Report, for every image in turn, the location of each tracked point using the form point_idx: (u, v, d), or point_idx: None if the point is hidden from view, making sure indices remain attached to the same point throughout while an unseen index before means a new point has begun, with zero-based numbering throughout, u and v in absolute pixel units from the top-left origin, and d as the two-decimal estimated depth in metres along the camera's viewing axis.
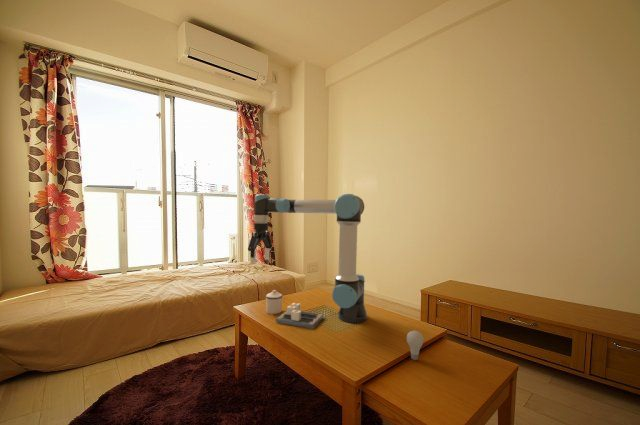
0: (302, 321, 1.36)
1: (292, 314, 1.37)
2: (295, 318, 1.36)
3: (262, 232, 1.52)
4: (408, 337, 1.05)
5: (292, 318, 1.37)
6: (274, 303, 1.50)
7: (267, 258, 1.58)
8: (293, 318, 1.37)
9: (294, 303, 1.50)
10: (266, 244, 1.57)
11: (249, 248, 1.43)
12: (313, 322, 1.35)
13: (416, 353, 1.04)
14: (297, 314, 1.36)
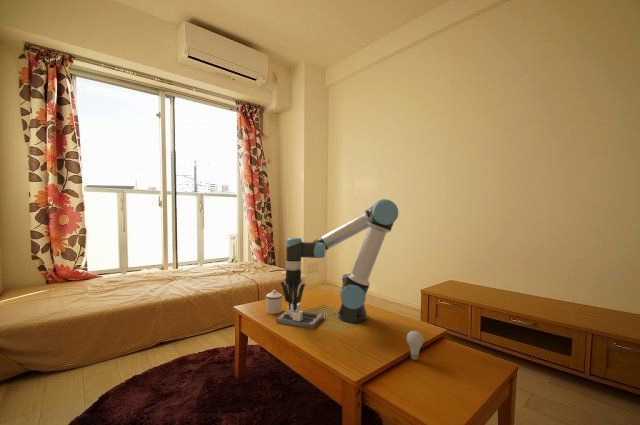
0: (302, 321, 1.36)
1: (294, 314, 1.37)
2: (296, 318, 1.36)
3: (291, 279, 1.38)
4: (408, 337, 1.05)
5: (294, 318, 1.37)
6: (274, 303, 1.50)
7: None
8: (295, 318, 1.36)
9: None
10: None
11: None
12: (313, 322, 1.35)
13: (416, 353, 1.04)
14: (299, 314, 1.36)
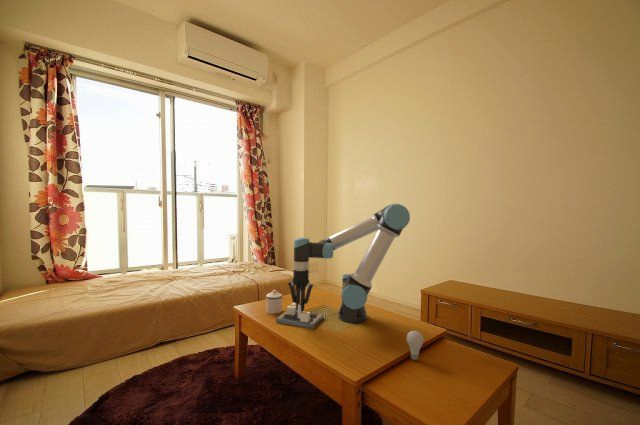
0: None
1: (301, 315, 1.35)
2: (304, 319, 1.35)
3: (299, 280, 1.36)
4: (408, 337, 1.05)
5: (301, 320, 1.35)
6: (274, 303, 1.50)
7: None
8: (302, 320, 1.35)
9: (294, 303, 1.50)
10: None
11: None
12: (313, 322, 1.35)
13: (416, 353, 1.04)
14: (306, 315, 1.34)
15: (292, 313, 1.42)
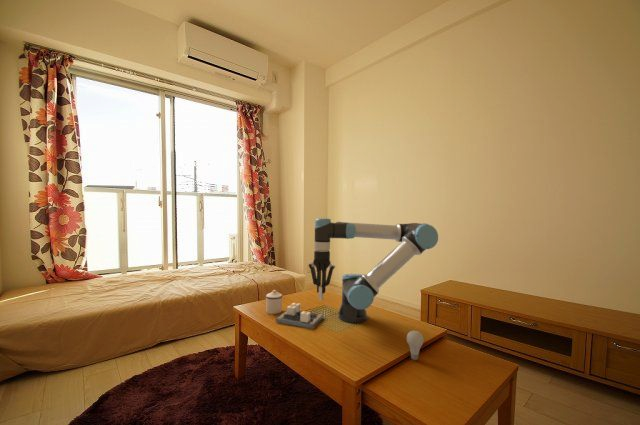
0: None
1: (301, 315, 1.35)
2: (304, 319, 1.35)
3: (320, 261, 1.33)
4: (408, 337, 1.05)
5: (301, 320, 1.35)
6: (274, 303, 1.50)
7: None
8: (302, 320, 1.35)
9: (294, 303, 1.50)
10: None
11: None
12: (313, 322, 1.35)
13: (416, 353, 1.04)
14: (306, 315, 1.34)
15: (292, 313, 1.42)
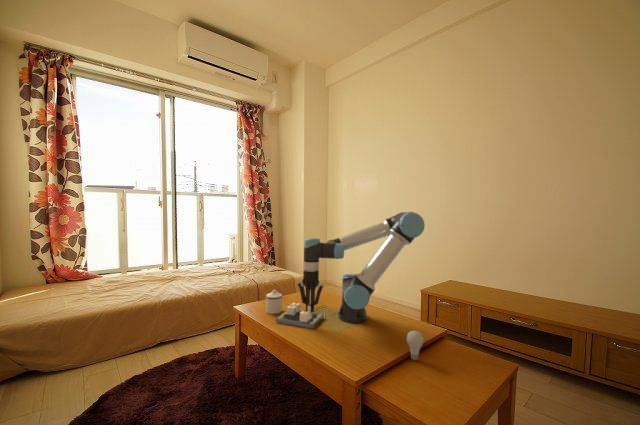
0: None
1: (300, 315, 1.35)
2: (303, 319, 1.35)
3: (309, 281, 1.34)
4: (408, 337, 1.05)
5: (300, 319, 1.35)
6: (274, 303, 1.50)
7: None
8: (301, 319, 1.35)
9: (294, 303, 1.50)
10: None
11: None
12: (313, 322, 1.35)
13: (416, 353, 1.04)
14: (306, 315, 1.34)
15: (292, 313, 1.42)
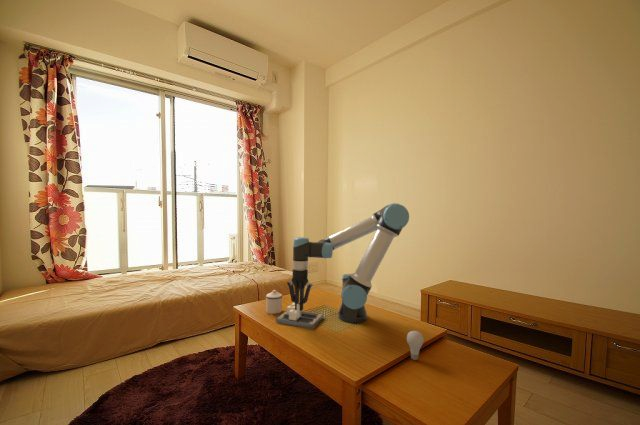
0: (302, 321, 1.36)
1: (290, 314, 1.37)
2: (293, 317, 1.37)
3: (298, 279, 1.36)
4: (408, 337, 1.05)
5: (290, 318, 1.37)
6: (274, 303, 1.50)
7: None
8: (291, 318, 1.37)
9: (294, 303, 1.50)
10: None
11: None
12: (313, 322, 1.35)
13: (416, 353, 1.04)
14: (295, 314, 1.36)
15: None
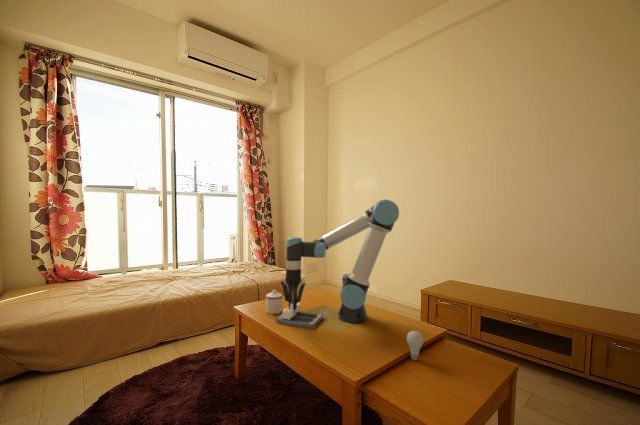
0: (302, 321, 1.36)
1: (283, 313, 1.39)
2: (286, 316, 1.38)
3: (291, 279, 1.38)
4: (408, 337, 1.05)
5: (283, 317, 1.39)
6: (274, 303, 1.50)
7: None
8: (284, 317, 1.38)
9: None
10: None
11: None
12: (313, 322, 1.35)
13: (416, 353, 1.04)
14: (288, 313, 1.38)
15: None
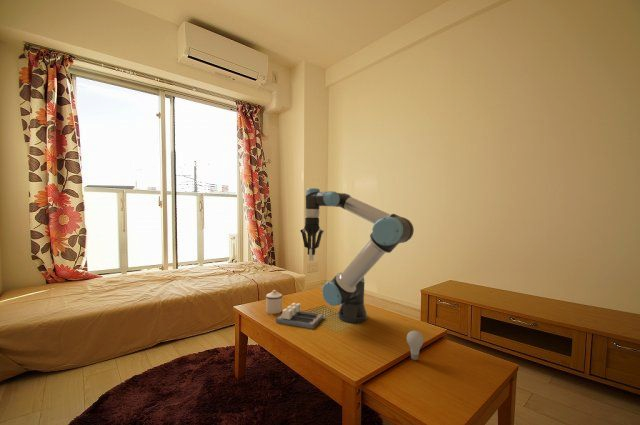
0: (302, 321, 1.36)
1: (283, 313, 1.39)
2: (286, 316, 1.38)
3: (310, 226, 1.49)
4: (408, 337, 1.05)
5: (283, 317, 1.39)
6: (274, 303, 1.50)
7: None
8: (284, 317, 1.38)
9: (294, 303, 1.50)
10: None
11: None
12: (313, 322, 1.35)
13: (416, 353, 1.04)
14: (288, 313, 1.38)
15: (292, 313, 1.42)
